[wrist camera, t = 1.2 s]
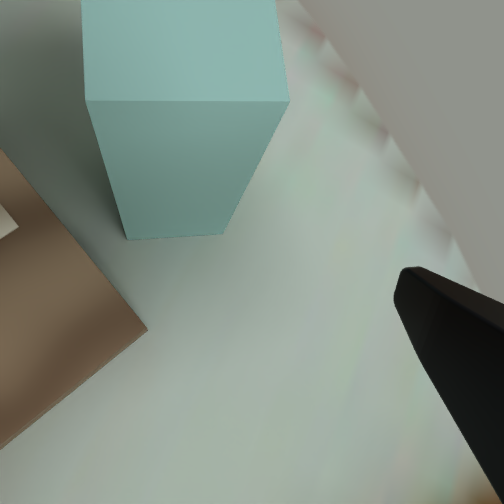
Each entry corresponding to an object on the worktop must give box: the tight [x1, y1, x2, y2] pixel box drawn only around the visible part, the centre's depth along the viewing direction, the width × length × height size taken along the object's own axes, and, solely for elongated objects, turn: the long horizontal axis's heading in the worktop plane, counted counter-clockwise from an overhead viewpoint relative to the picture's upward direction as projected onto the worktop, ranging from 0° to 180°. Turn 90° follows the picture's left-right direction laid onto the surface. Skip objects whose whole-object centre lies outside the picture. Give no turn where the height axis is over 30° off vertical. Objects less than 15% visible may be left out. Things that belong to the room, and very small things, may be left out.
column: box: [81, 0, 290, 240], centre depth 17 cm, size 5×5×13 cm
